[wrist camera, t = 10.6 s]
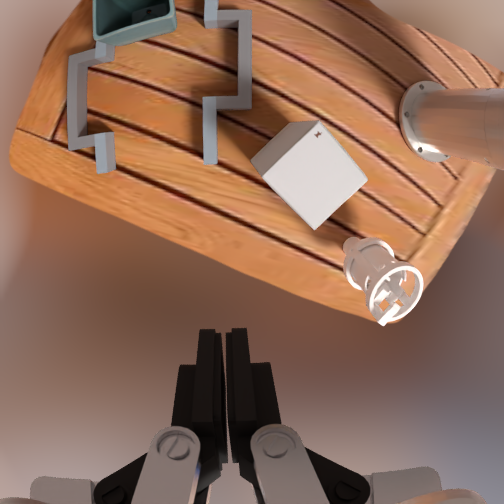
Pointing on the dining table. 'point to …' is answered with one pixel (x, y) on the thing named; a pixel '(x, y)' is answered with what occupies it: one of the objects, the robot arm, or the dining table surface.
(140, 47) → the dining table surface
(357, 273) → the white plastic fitting
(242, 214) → the dining table surface
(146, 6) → the flower pot
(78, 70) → the stepped grey frame
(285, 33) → the dining table surface
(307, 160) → the supplement box
